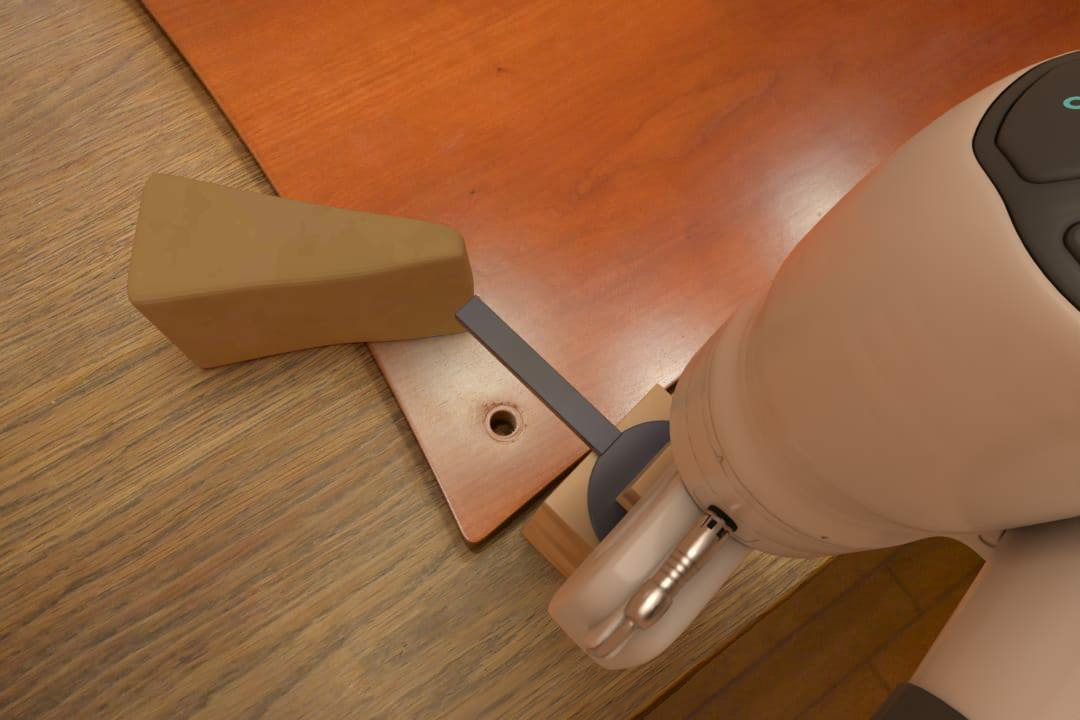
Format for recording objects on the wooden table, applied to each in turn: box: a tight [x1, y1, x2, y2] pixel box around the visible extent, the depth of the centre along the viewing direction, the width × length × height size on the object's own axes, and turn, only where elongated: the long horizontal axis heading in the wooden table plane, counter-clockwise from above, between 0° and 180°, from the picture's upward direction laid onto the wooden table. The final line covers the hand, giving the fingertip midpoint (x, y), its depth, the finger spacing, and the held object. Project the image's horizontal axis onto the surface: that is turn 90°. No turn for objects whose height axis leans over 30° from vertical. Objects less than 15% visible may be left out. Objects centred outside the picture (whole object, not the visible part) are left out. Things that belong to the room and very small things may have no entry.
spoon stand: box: [455, 294, 673, 580], centre depth 54 cm, size 21×10×19 cm, turn 47°
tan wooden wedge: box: [126, 172, 475, 369], centre depth 58 cm, size 22×10×15 cm, turn 91°
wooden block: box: [616, 441, 675, 512], centre depth 42 cm, size 4×4×4 cm
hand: (691, 485), depth 40 cm, fingers open, 8 cm apart
